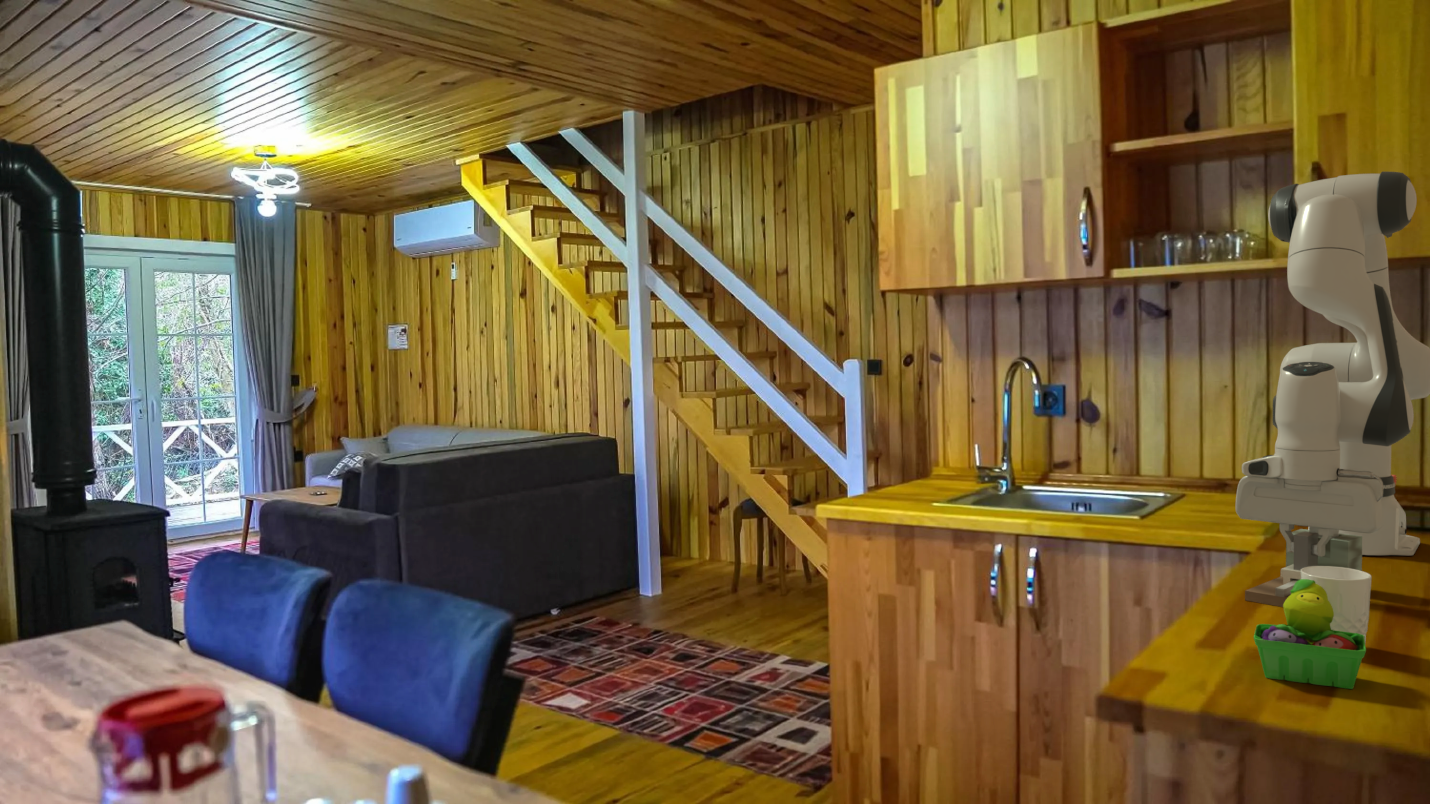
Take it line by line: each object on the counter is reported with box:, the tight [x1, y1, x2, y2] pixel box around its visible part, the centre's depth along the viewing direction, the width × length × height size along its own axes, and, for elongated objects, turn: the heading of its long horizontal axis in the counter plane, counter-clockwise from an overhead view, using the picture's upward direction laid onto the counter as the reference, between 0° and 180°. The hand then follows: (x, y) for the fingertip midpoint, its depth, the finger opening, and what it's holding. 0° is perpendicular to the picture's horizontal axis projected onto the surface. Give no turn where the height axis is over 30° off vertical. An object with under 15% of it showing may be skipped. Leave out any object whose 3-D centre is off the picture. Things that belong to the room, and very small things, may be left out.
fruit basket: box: [1253, 579, 1367, 690], centre depth 121 cm, size 11×9×11 cm
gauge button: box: [1309, 527, 1339, 538], centre depth 161 cm, size 5×5×4 cm
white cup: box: [1301, 566, 1372, 643], centre depth 131 cm, size 8×8×10 cm
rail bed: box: [1244, 528, 1363, 607], centre depth 157 cm, size 20×10×8 cm, turn 129°
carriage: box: [1280, 531, 1318, 585], centre depth 157 cm, size 6×5×8 cm
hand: (1305, 554), depth 157 cm, fingers closed on carriage, 2 cm apart
